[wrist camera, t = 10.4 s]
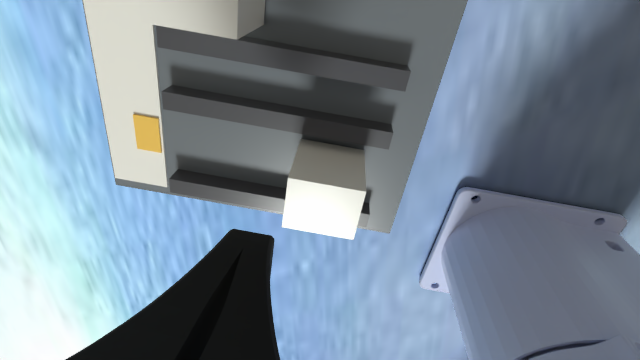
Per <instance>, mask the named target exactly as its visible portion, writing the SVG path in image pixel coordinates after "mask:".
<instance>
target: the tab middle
mask: <svg viewBox="0 0 640 360" xmlns="http://www.w3.org/2000/svg"><path fill="white" fill-rule="evenodd" d="M139 8H140V17H141V23H147V24H152V25H158V26H163V27H169V28H174V29H180V30H186V31H191V32H197V33H202V34H208V35H213V36H219V37H224V38H230V39H236V40H238V39H239V38H241V37H243V36H245V35H246V34H248V33H250V32H252V31H254V30H255V29H257V28H259V27H261V26H262V25H264V13H265V0H139Z"/></svg>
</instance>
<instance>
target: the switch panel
mask: <svg viewBox="0 0 640 360" xmlns="http://www.w3.org/2000/svg"><path fill="white" fill-rule="evenodd" d="M82 1H83V7H84V12H85V18H86V23H87V29H88V34H89V40H90V45H91V51H92V56H93V62H94V67H95V73H96V78H97V84H98V89H99V94H100V100H101V105H102V111H103V116H104V122H105V127H106V133H107V138H108V144H109V149H110V155H111V160H112V166H113V171H114V177H115V182H116V185H121V186H127V187H132V188H138V189H143V190H149V191H155V192H160V193H166V194H171V195H177V196H183V197H188V198H194V199H199V200H205V201H211V202H216V203H222V204H227V205H233V206H239V207H244V208H250V209H255V210H261V211H267V212H272V213H278V214H284V205H285V197H286V189H287V181H288V176H289V173H290V170H291V167H292V164H293V161H294V158H295V155H296V152H297V149H298V146H299V143H300V140H301V139H305V140H311V141H316V142H322V143H327V144H333V145H339V146H344V147H350V148H355V149H361V150H364V152H365V174H366V195H365V199H364V202H363V206H362V210H361V214H360V217H359V221H358V225H357V228H362V229H367V230H373V231H378V232H384V233H390V231H391V228H392V225H393V222H394V219H395V216H396V213H397V210H398V207H399V204H400V201H401V198H402V195H403V192H404V189H405V186H406V183H407V180H408V177H409V174H410V171H411V168H412V165H413V162H414V159H415V156H416V153H417V150H418V147H419V144H420V141H421V138H422V135H423V132H424V129H425V126H426V123H427V120H428V117H429V114H430V111H431V108H432V105H433V102H434V99H435V96H436V93H437V90H438V88H439V85H440V82H441V79H442V76H443V73H444V70H445V67H446V64H447V61H448V58H449V55H450V52H451V49H452V46H453V43H454V40H455V37H456V34H457V31H458V28H459V25H460V22H461V19H462V16H463V13H464V10H465V7H466V4H467V1H468V0H265V13H264V25H262V26H261V27H259V28H257V29H255V30H254V31H252V32H250V33H248V34H246V35H245V36H243V37H241V38H239V39H238V40H236V39H230V38H224V37H219V36H213V35H208V34H202V33H197V32H191V31H186V30H180V29H174V28H169V27H163V26H158V25H152V24H147V23H141V17H140V8H139V0H82Z"/></svg>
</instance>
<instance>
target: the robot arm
mask: <svg viewBox="0 0 640 360" xmlns="http://www.w3.org/2000/svg"><path fill="white" fill-rule="evenodd" d="M473 196H478V198H476V199H471V198H472V197H473ZM598 218H600V219H599V220H597V221H595V220H596V219H598ZM626 224H627V220H626V219H625V218H624V217H623V216H622V215H620V214H616V213H610V212H605V211H599V210H594V209H588V208H583V207H577V206H571V205H566V204H560V203H555V202H549V201H544V200H538V199H532V198H527V197H521V196H516V195H510V194H504V193H499V192H493V191H488V190H482V189H477V188H471V187H464V188H461V189H459V190H458V192H457V193H456V195H455V198H454V200H453V202H452V205H451V207H450V209H449V212H448V214H447V216H446V219H445V221H444V223H443V225H442V228H441V230H440V232H439V235H438V237H437V239H436V242H435V244H434V246H433V249H432V251H431V253H430V256H429V258H428V260H427V263H426V265H425V267H424V269H423V272H422V274H421V276H420V279H419V283H420V286H421V287H422V288H424V289H428V290H434V291H439V292H445V293H450V296H451V300H452V303H453V307H454V310H455V313H456V317H457V320H458V324H459V327H460V331H461V334H462V338H463V341H464V344H465V348H466V351H467V355H468V358H469V360H640V255H639V254H638V253H637V252H636V251H635V250H634V249H633V248H632V247H631V246H630V245H629V244H628V243H627V242H626V241H625V240H624V239H623V238H622V237H621V236H620V235H619V234H620V232H621V231H622V230H623V229H624V227H625V226H626ZM273 248H274V238H273V237H272V236H270V235H265V234H259V233H253V232H248V231H242V230H237V229H232V230H230V231H229V232H228V233H227V234H226V235H225V236H224V237H223V238H222V239H221V241H220V242H219V243H218V244H217V245H216V246H215V247H214V248H213V249H212V250H211V251H210V252H209V253H208V254H207V255H206V256H205V257H204V258H203V259H202V260H201V261H199V262H198V263H197V264H196V265H195V266H194V267H193V268H192V269H191V270H190V271H189V272H188V273H187V274H185V275H184V276H183V277H182V278H181V279H180V280H179V281H177V282H176V283H175V284H174V285H173V286H171V287H170V288H169V289H168V290H167V291H165V292H164V293H163V294H162V295H161V296H159V297H158V298H157V299H156V300H154V301H153V302H152V303H150V304H149V305H148V306H146V307H145V308H144V309H142V310H141V311H140V312H138V313H137V314H136V315H134V316H133V317H131V318H130V319H129V320H127V321H126V322H124V323H123V324H122V325H120V326H119V327H117V328H115V329H114V330H112V331H111V332H109V333H108V334H106V335H105V336H103V337H102V338H100V339H99V340H97V341H96V342H94V343H93V344H91V345H89V346H88V347H86V348H85V349H83V350H81V351H80V352H78V353H76V354H75V355H73V356H71V357H69V358H68V359H66V360H280V357H279V353H278V347H277V342H276V336H275V330H274V323H273V315H272V306H271V295H270V275H271V266H272V257H273ZM433 283H436V284H433Z"/></svg>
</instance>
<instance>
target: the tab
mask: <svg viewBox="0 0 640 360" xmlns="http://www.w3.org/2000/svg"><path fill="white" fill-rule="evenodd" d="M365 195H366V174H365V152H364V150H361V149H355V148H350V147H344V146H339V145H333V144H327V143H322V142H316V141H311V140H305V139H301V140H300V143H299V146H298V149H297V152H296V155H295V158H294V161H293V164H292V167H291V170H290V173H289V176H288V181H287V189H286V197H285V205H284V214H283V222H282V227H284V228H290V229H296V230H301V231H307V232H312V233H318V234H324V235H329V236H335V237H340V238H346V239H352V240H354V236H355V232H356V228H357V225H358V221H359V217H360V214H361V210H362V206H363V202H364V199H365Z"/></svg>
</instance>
